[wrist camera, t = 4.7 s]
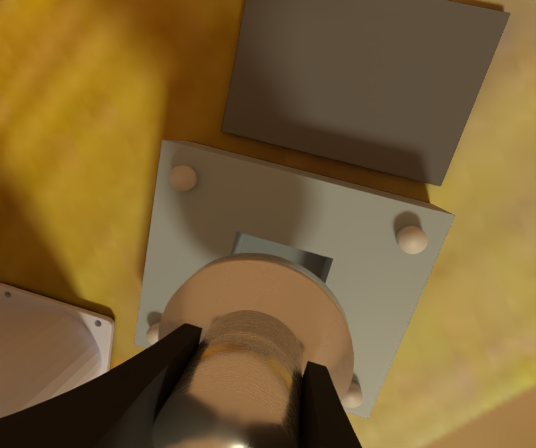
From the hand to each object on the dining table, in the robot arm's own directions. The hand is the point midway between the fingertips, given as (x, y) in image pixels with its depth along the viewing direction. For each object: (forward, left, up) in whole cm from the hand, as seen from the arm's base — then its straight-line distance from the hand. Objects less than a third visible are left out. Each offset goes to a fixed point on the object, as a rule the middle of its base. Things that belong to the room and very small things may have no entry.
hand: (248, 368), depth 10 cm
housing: (0, 0, -9) cm, 9 cm away
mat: (+1, +11, -9) cm, 14 cm away
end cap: (0, 0, -4) cm, 4 cm away
